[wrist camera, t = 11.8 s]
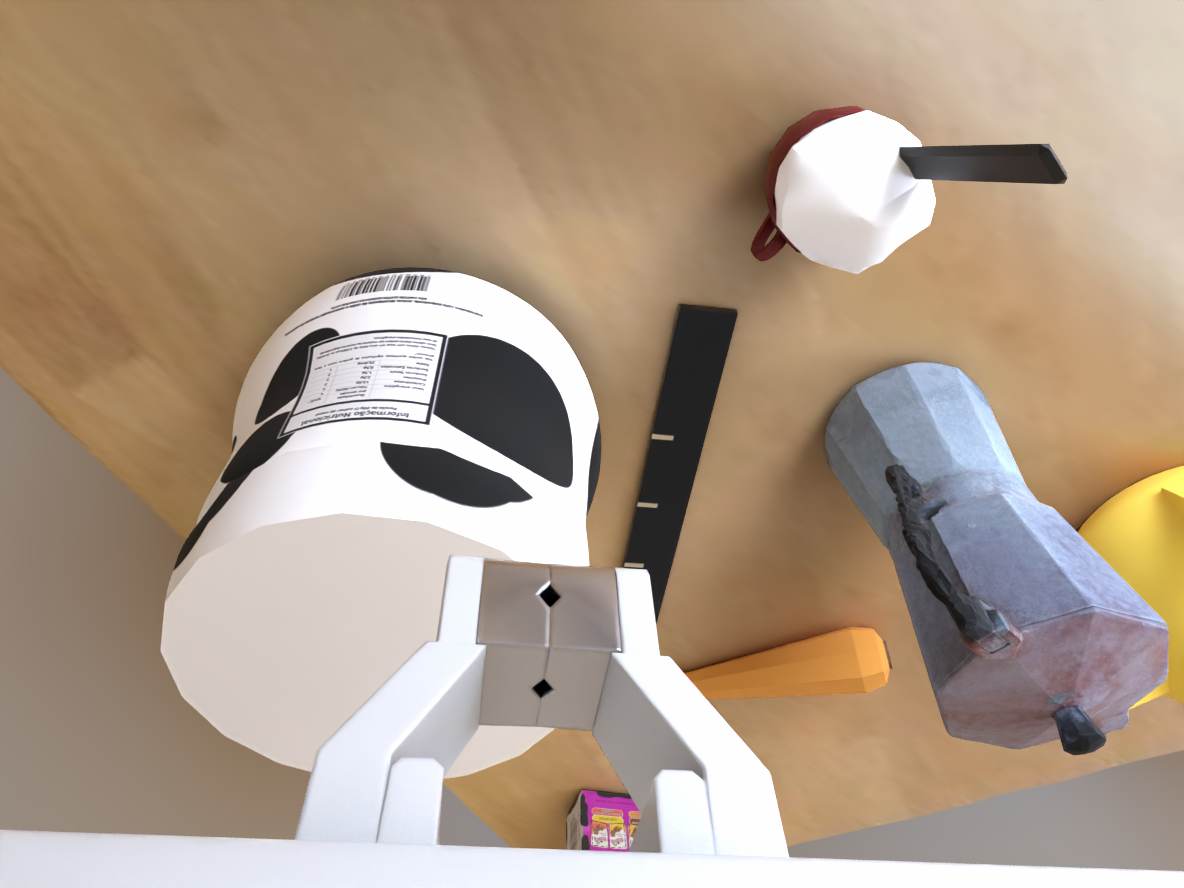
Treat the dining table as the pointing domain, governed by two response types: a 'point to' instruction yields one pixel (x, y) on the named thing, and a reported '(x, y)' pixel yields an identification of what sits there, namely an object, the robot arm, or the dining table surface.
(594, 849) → the candy bar box
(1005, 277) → the dining table surface
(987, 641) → the moka pot
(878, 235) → the cocoa
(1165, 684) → the teapot
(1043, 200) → the dining table surface
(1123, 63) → the dining table surface
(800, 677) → the carrot
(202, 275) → the dining table surface
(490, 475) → the milk container
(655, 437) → the ruler
